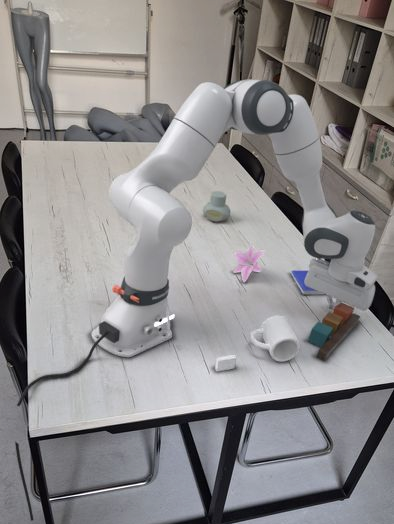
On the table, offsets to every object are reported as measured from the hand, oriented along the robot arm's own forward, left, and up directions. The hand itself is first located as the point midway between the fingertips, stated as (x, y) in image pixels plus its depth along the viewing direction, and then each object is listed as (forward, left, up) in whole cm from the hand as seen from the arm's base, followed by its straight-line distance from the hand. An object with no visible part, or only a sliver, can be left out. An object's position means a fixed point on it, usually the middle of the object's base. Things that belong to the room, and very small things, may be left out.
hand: (331, 308), depth 146 cm
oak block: (-7, -3, -2) cm, 8 cm away
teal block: (-14, -3, -2) cm, 15 cm away
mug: (-28, +5, -2) cm, 28 cm away
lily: (+2, +31, -2) cm, 31 cm away
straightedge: (-9, -7, -2) cm, 12 cm away
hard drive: (+12, +13, -2) cm, 18 cm away
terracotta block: (0, -4, -2) cm, 4 cm away
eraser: (-42, +10, -2) cm, 44 cm away
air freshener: (+30, +63, -2) cm, 70 cm away
